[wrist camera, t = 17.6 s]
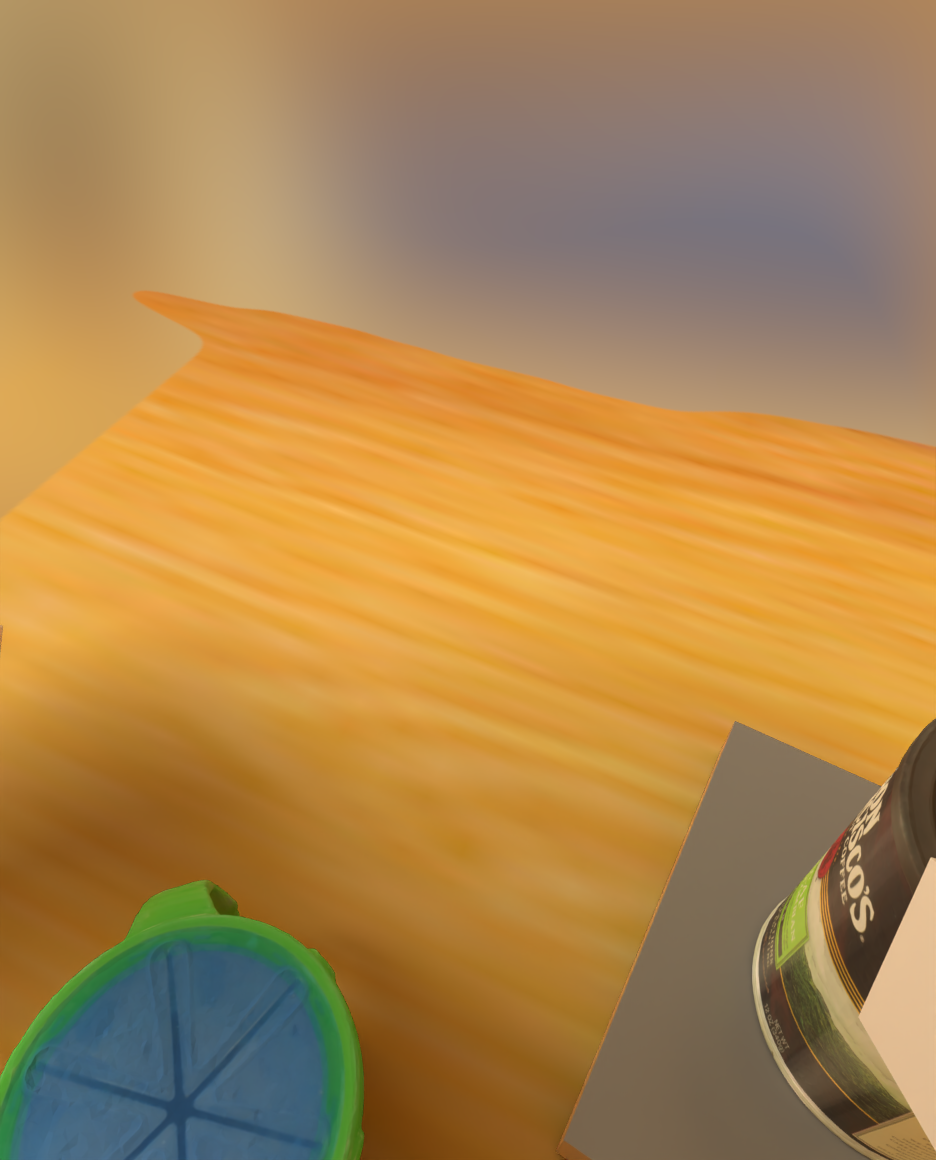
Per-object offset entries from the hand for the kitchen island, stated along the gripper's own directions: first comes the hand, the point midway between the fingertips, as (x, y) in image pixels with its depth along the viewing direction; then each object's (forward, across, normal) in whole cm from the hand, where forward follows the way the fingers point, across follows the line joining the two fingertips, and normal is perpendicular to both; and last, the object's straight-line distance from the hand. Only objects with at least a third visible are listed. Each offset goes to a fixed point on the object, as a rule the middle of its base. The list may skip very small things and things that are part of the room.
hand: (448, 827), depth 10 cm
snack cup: (+13, -3, -24) cm, 27 cm away
